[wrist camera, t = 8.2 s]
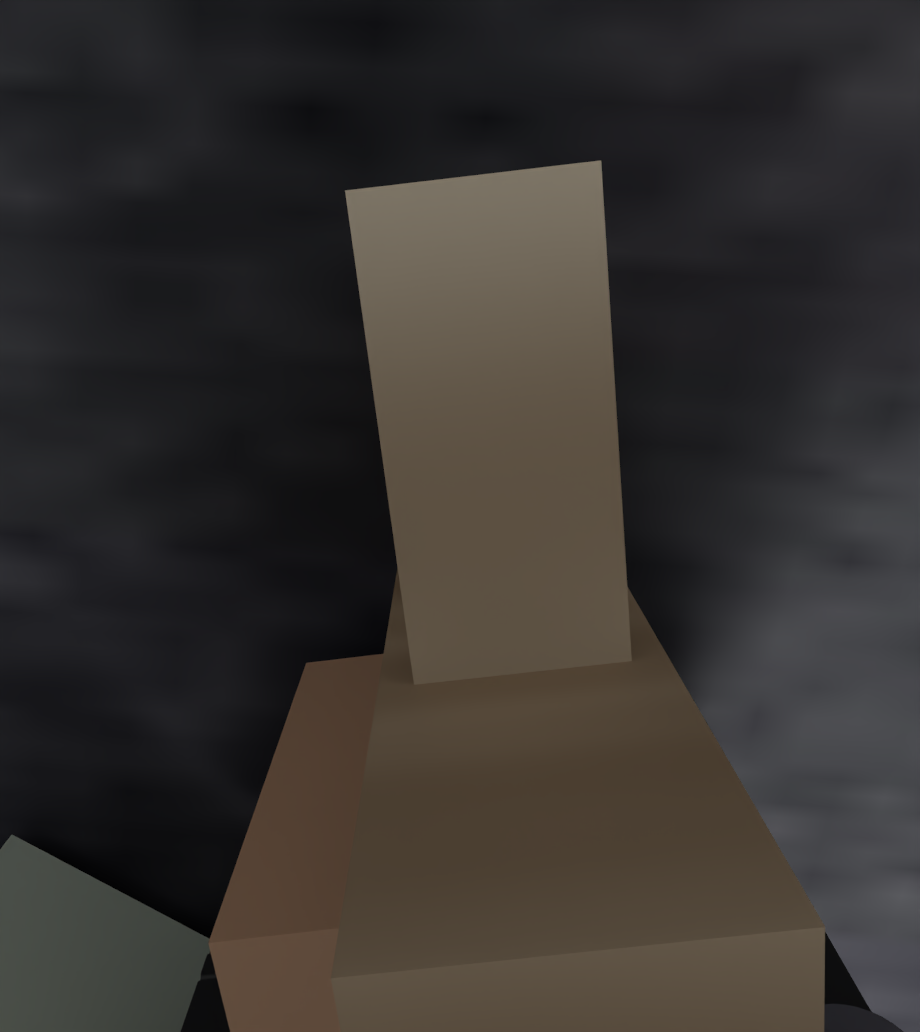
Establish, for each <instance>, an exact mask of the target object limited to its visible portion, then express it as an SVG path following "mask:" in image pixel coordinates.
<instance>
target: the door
mask: <svg viewBox="0 0 920 1032" xmlns="http://www.w3.org/2000/svg"><path fill="white" fill-rule="evenodd" d="M208 942H209V938H207V937H205V936H203V935H201V934H199V933H197V932H196V931H194V930H192V929H190V928H188V927H186V926H184V925H182V924H180V923H179V922H177V921H175V920H173V919H171V918H169V917H167V916H165V915H163V914H162V913H160V912H158V911H156V910H154V909H152V908H150V907H148V906H146V905H144V904H143V903H141V902H139V901H137V900H135V899H133V898H131V897H129V896H127V895H126V894H124V893H122V892H120V891H118V890H116V889H114V888H112V887H110V886H109V885H107V884H105V883H103V882H101V881H99V880H97V879H95V878H93V877H92V876H90V875H88V874H86V873H84V872H82V871H80V870H78V869H76V868H74V867H73V866H71V865H69V864H67V863H65V862H63V861H61V860H59V859H57V858H56V857H54V856H52V855H50V854H48V853H46V852H44V851H42V850H40V849H39V848H37V847H35V846H33V845H31V844H29V843H27V842H25V841H23V840H21V839H20V838H18V837H16V836H14V835H11V836H10V837H9V839H8V840H7V841H6V842H5V844H4V845H3V846H2V848H1V849H0V1032H181V1029H182V1026H183V1023H184V1020H185V1017H186V1014H187V1011H188V1008H189V1006H190V1003H191V1000H192V997H193V994H194V991H195V988H196V985H197V982H198V981H200V979H201V971H202V968H203V965H204V962H205V959H206V956H207V954H209V953H210V948H209V944H208Z"/></svg>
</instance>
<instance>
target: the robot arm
mask: <svg viewBox="0 0 920 1032" xmlns="http://www.w3.org/2000/svg"><path fill="white" fill-rule="evenodd" d="M181 1032H230V1029H229V1025H228V1021H227V1017H226V1013H225V1009H224V1005H223V1001H222V997H221V993H220V989H219V985H218V980H217V976H216V972H215V968H214V964H213V960H212V956H211V952H210V953H209V954H207V956H206V959H205V962H204V965H203V968H202V971H201V979H200V981H198V982H197V985H196V988H195V991H194V994H193V997H192V1000H191V1003H190V1006H189V1008H188V1011H187V1014H186V1017H185V1020H184V1023H183V1026H182V1029H181ZM824 1032H903V1031H902V1030H901V1029H899V1028H898V1027H897V1026H896V1025H894V1024H893V1023H891V1022H890V1021H888V1020H886V1019H885V1018H883V1017H881V1016H879V1015H877V1014H875V1013H873V1012H872V1011H871V1010H870V1008H869V1007H868V1005H867V1004H866V1002H865V1000H864V998H863V997H862V995H861V993H860V992H859V990H858V988H857V986H856V985H855V983H854V981H853V979H852V978H851V976H850V974H849V972H848V971H847V969H846V967H845V965H844V964H843V962H842V960H841V959H840V957H839V955H838V953H837V952H836V950H835V948H834V946H833V945H832V943H831V941H830V939H829V938H828V936H827V934H826V932H825V998H824Z"/></svg>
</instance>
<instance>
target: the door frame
mask: <svg viewBox="0 0 920 1032" xmlns="http://www.w3.org/2000/svg"><path fill="white" fill-rule="evenodd" d="M345 194H346V201H347V208H348V215H349V223H350V230H351V237H352V244H353V251H354V258H355V266H356V273H357V280H358V287H359V294H360V302H361V309H362V316H363V323H364V330H365V337H366V345H367V352H368V359H369V366H370V373H371V380H372V388H373V395H374V402H375V409H376V416H377V423H378V431H379V438H380V445H381V452H382V459H383V466H384V474H385V481H386V488H387V495H388V502H389V509H390V517H391V524H392V531H393V538H394V545H395V552H396V560H397V567H398V568H397V574H396V580H395V586H394V592H393V598H392V605H391V611H390V617H389V623H388V629H387V635H386V641H385V648H384V654H383V660H382V666H381V672H380V678H379V685H378V691H377V697H376V703H375V709H374V715H373V722H372V728H371V734H370V740H369V746H368V752H367V758H366V765H365V771H364V777H363V783H362V789H361V795H360V802H359V808H358V814H357V820H356V826H355V832H354V839H353V845H352V851H351V857H350V863H349V869H348V875H347V882H346V888H345V894H344V900H343V906H342V912H341V919H340V925H339V931H338V937H337V943H336V949H335V956H334V962H333V968H332V974H331V982H332V987H333V993H334V998H335V1003H336V1009H337V1014H338V1019H339V1025H340V1030H341V1032H824V998H825V926H824V924H823V923H822V921H821V919H820V917H819V916H818V914H817V912H816V910H815V909H814V907H813V905H812V904H811V902H810V900H809V898H808V897H807V895H806V893H805V892H804V890H803V888H802V886H801V885H800V883H799V881H798V879H797V878H796V876H795V874H794V873H793V871H792V869H791V867H790V866H789V864H788V862H787V861H786V859H785V857H784V855H783V854H782V852H781V850H780V848H779V847H778V845H777V843H776V842H775V840H774V838H773V836H772V835H771V833H770V831H769V830H768V828H767V826H766V824H765V823H764V821H763V819H762V818H761V816H760V814H759V812H758V811H757V809H756V807H755V805H754V804H753V802H752V800H751V799H750V797H749V795H748V793H747V792H746V790H745V788H744V787H743V785H742V783H741V781H740V780H739V778H738V776H737V774H736V773H735V771H734V769H733V768H732V766H731V764H730V762H729V761H728V759H727V757H726V756H725V754H724V752H723V750H722V749H721V747H720V745H719V743H718V742H717V740H716V738H715V737H714V735H713V733H712V731H711V730H710V728H709V726H708V725H707V723H706V721H705V719H704V718H703V716H702V714H701V713H700V711H699V709H698V707H697V706H696V704H695V702H694V700H693V699H692V697H691V695H690V694H689V692H688V690H687V688H686V687H685V685H684V683H683V682H682V680H681V678H680V676H679V675H678V673H677V671H676V669H675V668H674V666H673V664H672V663H671V661H670V659H669V657H668V656H667V654H666V652H665V651H664V649H663V647H662V645H661V644H660V642H659V640H658V638H657V637H656V635H655V633H654V632H653V630H652V628H651V626H650V625H649V623H648V621H647V620H646V618H645V616H644V614H643V613H642V611H641V609H640V607H639V606H638V604H637V602H636V601H635V599H634V597H633V595H632V594H631V592H630V590H629V589H628V587H627V574H626V557H625V541H624V525H623V508H622V492H621V476H620V460H619V443H618V427H617V411H616V394H615V378H614V362H613V345H612V329H611V313H610V296H609V280H608V264H607V247H606V231H605V215H604V198H603V182H602V166H601V160H600V161H592V162H583V163H575V164H566V165H558V166H549V167H541V168H532V169H524V170H515V171H507V172H498V173H490V174H481V175H473V176H464V177H456V178H447V179H439V180H430V181H422V182H413V183H405V184H396V185H388V186H379V187H371V188H362V189H354V190H345Z"/></svg>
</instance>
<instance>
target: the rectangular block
mask: <svg viewBox="0 0 920 1032" xmlns="http://www.w3.org/2000/svg"><path fill="white" fill-rule="evenodd" d="M382 660H383V654H377V655H369V656H360V657H352V658H343V659H335V660H326V661H318V662H309V663H306V665H305V668H304V671H303V673H302V676H301V679H300V682H299V685H298V688H297V691H296V693H295V696H294V699H293V702H292V705H291V708H290V711H289V714H288V716H287V719H286V722H285V725H284V728H283V731H282V734H281V736H280V739H279V742H278V745H277V748H276V751H275V754H274V756H273V759H272V762H271V765H270V768H269V771H268V774H267V776H266V779H265V782H264V785H263V788H262V791H261V794H260V796H259V799H258V802H257V805H256V808H255V811H254V814H253V816H252V819H251V822H250V825H249V828H248V831H247V834H246V836H245V839H244V842H243V845H242V848H241V851H240V854H239V856H238V859H237V862H236V865H235V868H234V871H233V874H232V877H231V879H230V882H229V885H228V888H227V891H226V894H225V897H224V899H223V902H222V905H221V908H220V911H219V914H218V917H217V919H216V922H215V925H214V928H213V931H212V934H211V937H210V939H209V942H208V944H209V948H210V952H211V956H212V960H213V964H214V968H215V972H216V976H217V980H218V985H219V989H220V993H221V997H222V1001H223V1005H224V1009H225V1013H226V1017H227V1021H228V1025H229V1029H230V1032H341V1030H340V1025H339V1019H338V1014H337V1009H336V1003H335V998H334V993H333V987H332V982H331V974H332V968H333V962H334V956H335V949H336V943H337V937H338V931H339V925H340V919H341V912H342V906H343V900H344V894H345V888H346V882H347V875H348V869H349V863H350V857H351V851H352V845H353V839H354V832H355V826H356V820H357V814H358V808H359V802H360V795H361V789H362V783H363V777H364V771H365V765H366V758H367V752H368V746H369V740H370V734H371V728H372V722H373V715H374V709H375V703H376V697H377V691H378V685H379V678H380V672H381V666H382Z"/></svg>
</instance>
